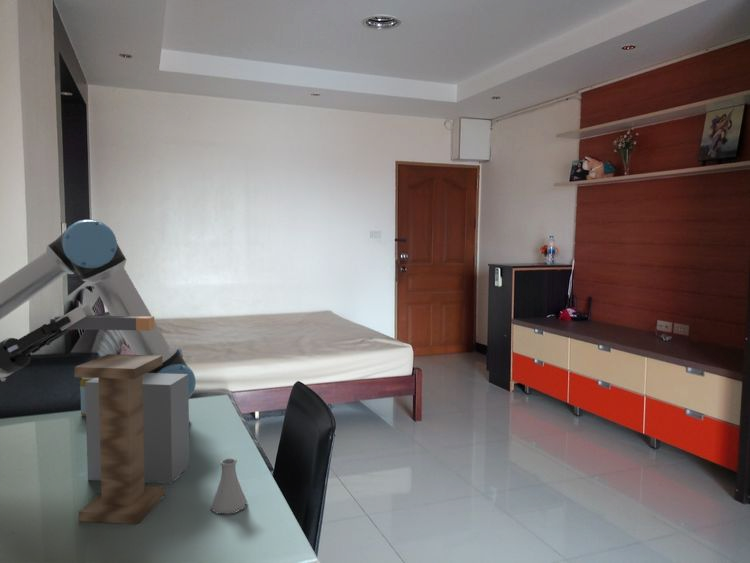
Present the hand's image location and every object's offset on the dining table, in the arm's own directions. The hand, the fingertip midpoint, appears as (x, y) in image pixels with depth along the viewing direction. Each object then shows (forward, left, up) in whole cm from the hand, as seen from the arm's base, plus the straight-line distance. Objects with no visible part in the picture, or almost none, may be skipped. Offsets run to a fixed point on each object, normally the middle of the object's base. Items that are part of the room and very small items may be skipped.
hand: (86, 310), depth 128 cm
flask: (-21, +33, -39) cm, 55 cm away
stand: (-3, +21, -39) cm, 44 cm away
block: (-10, +5, -39) cm, 41 cm away
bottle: (-9, -49, -39) cm, 63 cm away
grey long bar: (-3, +3, -4) cm, 6 cm away
